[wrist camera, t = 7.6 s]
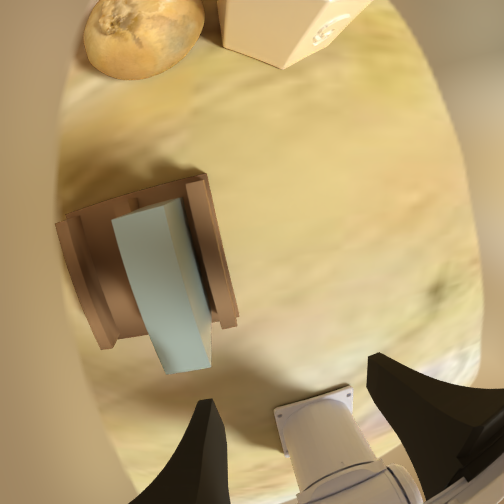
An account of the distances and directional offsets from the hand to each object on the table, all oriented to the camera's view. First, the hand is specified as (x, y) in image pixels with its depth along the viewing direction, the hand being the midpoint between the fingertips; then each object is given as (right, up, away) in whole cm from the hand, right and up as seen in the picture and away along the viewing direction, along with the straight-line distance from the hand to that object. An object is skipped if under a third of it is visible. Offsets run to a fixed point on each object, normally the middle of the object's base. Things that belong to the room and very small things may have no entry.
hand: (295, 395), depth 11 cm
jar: (0, +23, +4) cm, 24 cm away
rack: (-9, +6, +8) cm, 13 cm away
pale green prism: (-7, +6, +7) cm, 11 cm away
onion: (-9, +22, +4) cm, 24 cm away
